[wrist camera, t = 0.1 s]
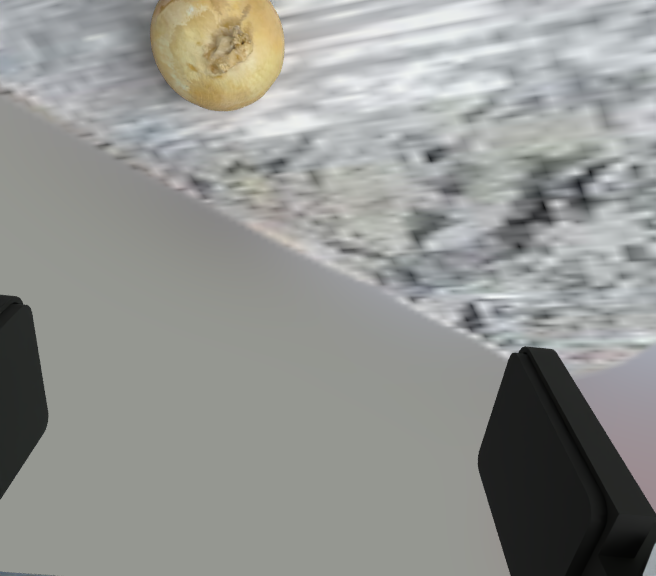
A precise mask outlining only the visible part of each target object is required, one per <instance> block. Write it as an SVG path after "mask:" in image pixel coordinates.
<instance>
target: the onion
mask: <svg viewBox="0 0 656 576" xmlns="http://www.w3.org/2000/svg"><path fill="white" fill-rule="evenodd" d="M150 39H151V47H152V52H153V56H154V59H155V61H156V64H157V66H158V68H159V70H160V72H161V74H162V76H163V77H164V79H165V80H166V82H167V83H168V84H169V85H170V87H171V88H172V89H173V90H174V91H176V92H177V93H178V94H179V95H180V96H181V97H183V98H184V99H186V100H188V101H190V102H192V103H194V104H196V105H198V106H200V107H203V108H206V109H208V110H214V111H232V110H237V109H240V108H243V107H245V106H247V105H250V104H252V103H254V102H255V101H257V100H258V99H260V98H261V97H262V96H263V95H264V94H265V93H266V92H267V91H268V89H269V88H270V87H271V85H272V84H273V82H274V81H275V80H276V79H277V77H278V75H279V73H280V71H281V69H282V64H283V59H284V34H283V29H282V25H281V22H280V19H279V16H278V14H277V12H276V10H275V9H274V7H273V5H272V4H271V2H270V1H269V0H159V1H158V3H157V5H156V8H155V10H154V13H153V16H152V21H151V28H150Z"/></svg>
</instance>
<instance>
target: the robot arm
mask: <svg viewBox="0 0 656 576" xmlns="http://www.w3.org/2000/svg"><path fill="white" fill-rule="evenodd" d="M47 423H48V408H47V403H46V396H45V391H44V384H43V378H42V372H41V365H40V359H39V353H38V347H37V341H36V334H35V328H34V322H33V315H32V311H31V308H30V307H29V306H28V305H23V302H22V300H21V299H20V298H19V297H17V296H7V295H0V499H1V498H2V496H3V495H4V493H5V492H6V490H7V489H8V487H9V485H10V484H11V482H12V481H13V479H14V478H15V476H16V475H17V473H18V472H19V470H20V469H21V467H22V465H23V464H24V463H25V461H26V460H27V458H28V456H29V455H30V453H31V452H32V450H33V449H34V447H35V446H36V444H37V443H38V441H39V440H40V438H41V437H42V435H43V433H44V432H45V430H46V427H47ZM478 469H479V473H480V476H481V480H482V483H483V486H484V490H485V493H486V496H487V499H488V503H489V506H490V509H491V513H492V516H493V519H494V523H495V526H496V529H497V532H498V536H499V539H500V542H501V545H502V549H503V552H504V555H505V559H506V562H507V565H508V568H509V572H510V575H511V576H656V513H655V512H654V510H653V509H652V507H651V505H650V504H649V502H648V501H647V499H646V497H645V495H644V494H643V492H642V491H641V489H640V487H639V486H638V484H637V483H636V481H635V480H634V478H633V476H632V475H631V473H630V471H629V470H628V468H627V466H626V465H625V463H624V461H623V460H622V458H621V457H620V455H619V454H618V452H617V450H616V449H615V447H614V445H613V444H612V442H611V441H610V439H609V437H608V436H607V434H606V432H605V431H604V429H603V427H602V426H601V424H600V423H599V421H598V419H597V418H596V416H595V414H594V413H593V411H592V410H591V408H590V406H589V405H588V403H587V402H586V400H585V398H584V397H583V395H582V393H581V392H580V390H579V389H578V387H577V385H576V384H575V382H574V380H573V379H572V377H571V376H570V374H569V372H568V371H567V369H566V367H565V366H564V364H563V363H562V361H561V359H560V358H559V356H558V354H557V353H556V352H555V351H554V350H552V349H546V348H535V347H522V348H521V350H520V351H519V353H512V354H511V355H510V358H509V360H508V363H507V367H506V369H505V373H504V376H503V379H502V382H501V385H500V388H499V391H498V394H497V397H496V401H495V404H494V407H493V410H492V413H491V416H490V419H489V422H488V425H487V429H486V432H485V435H484V438H483V441H482V444H481V448H480V451H479V455H478ZM0 576H52V575H40V574H26V573H12V572H0ZM53 576H54V575H53Z"/></svg>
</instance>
